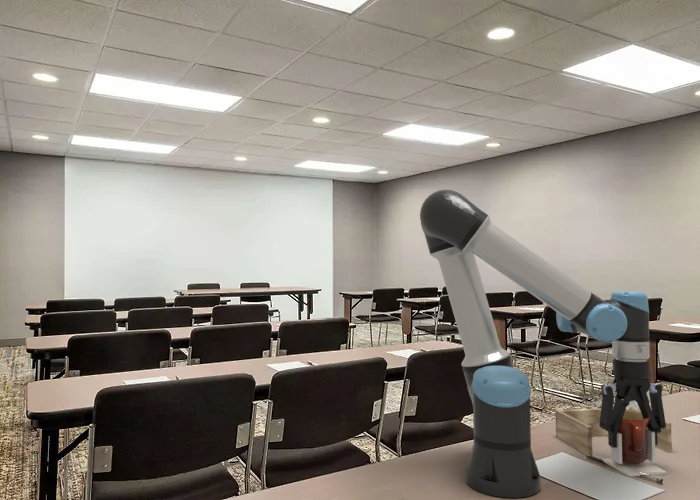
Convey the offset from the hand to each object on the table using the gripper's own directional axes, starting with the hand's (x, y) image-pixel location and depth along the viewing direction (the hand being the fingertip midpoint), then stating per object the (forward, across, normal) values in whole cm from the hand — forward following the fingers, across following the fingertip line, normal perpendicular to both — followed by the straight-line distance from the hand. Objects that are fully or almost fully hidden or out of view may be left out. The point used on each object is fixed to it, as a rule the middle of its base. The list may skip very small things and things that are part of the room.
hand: (633, 460), depth 118 cm
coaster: (+2, 0, 0) cm, 2 cm away
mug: (+1, -1, 0) cm, 1 cm away
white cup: (+2, +29, +38) cm, 48 cm away
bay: (+2, +5, +16) cm, 16 cm away
